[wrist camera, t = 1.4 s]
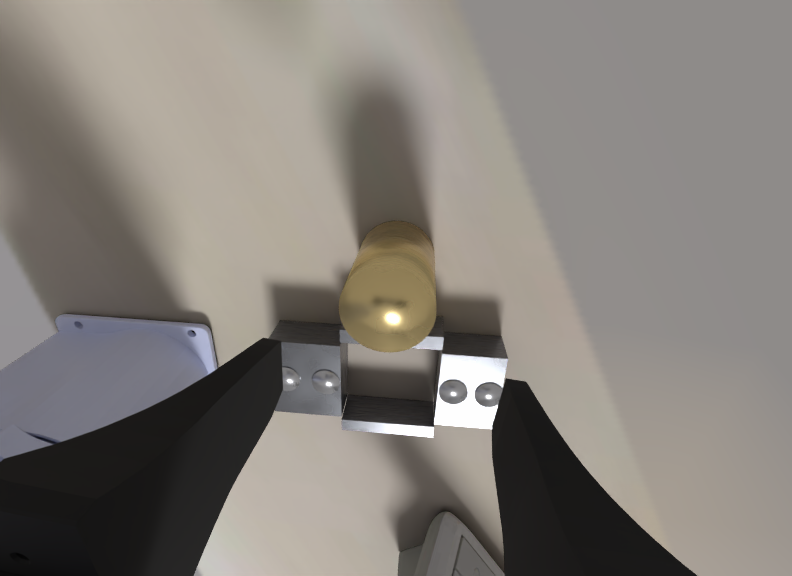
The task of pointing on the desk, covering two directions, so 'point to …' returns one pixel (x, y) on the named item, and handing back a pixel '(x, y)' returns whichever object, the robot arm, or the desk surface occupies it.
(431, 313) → the link pin
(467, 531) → the digital clock
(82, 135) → the desk surface
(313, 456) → the desk surface
